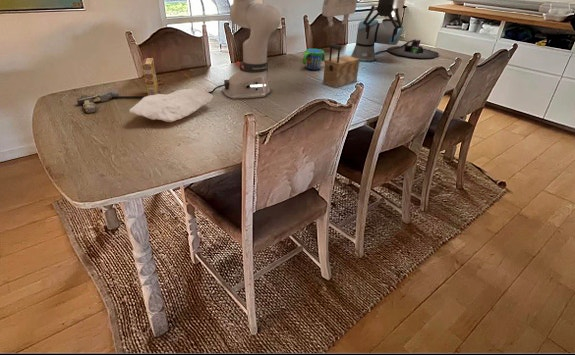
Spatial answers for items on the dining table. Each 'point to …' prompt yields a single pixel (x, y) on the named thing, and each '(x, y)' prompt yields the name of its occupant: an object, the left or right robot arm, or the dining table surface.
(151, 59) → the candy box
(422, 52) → the dark round disc
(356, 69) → the chest
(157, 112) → the crumpled cloth
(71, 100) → the dining table surface
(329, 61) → the lid
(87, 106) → the handgun
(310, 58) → the snack cup
